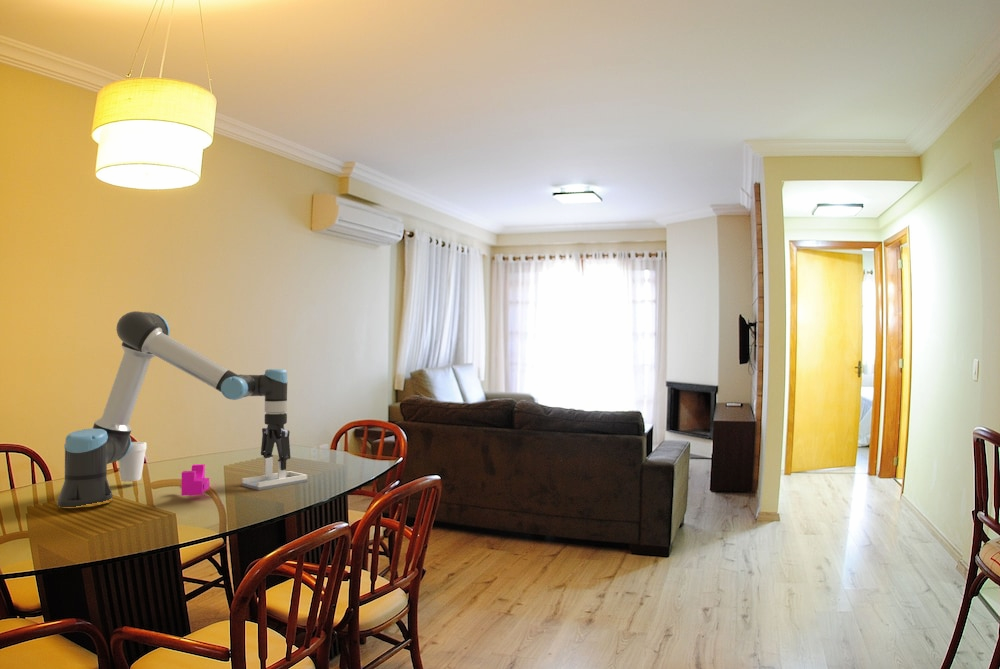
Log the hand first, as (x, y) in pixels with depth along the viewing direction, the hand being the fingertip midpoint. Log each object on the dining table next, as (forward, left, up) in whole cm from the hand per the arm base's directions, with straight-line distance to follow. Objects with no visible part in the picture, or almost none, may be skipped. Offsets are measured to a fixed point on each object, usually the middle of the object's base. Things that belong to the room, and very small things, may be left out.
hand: (275, 477), depth 238 cm
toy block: (-22, +11, -3) cm, 25 cm away
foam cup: (-30, +45, -2) cm, 54 cm away
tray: (0, 0, -2) cm, 2 cm away
